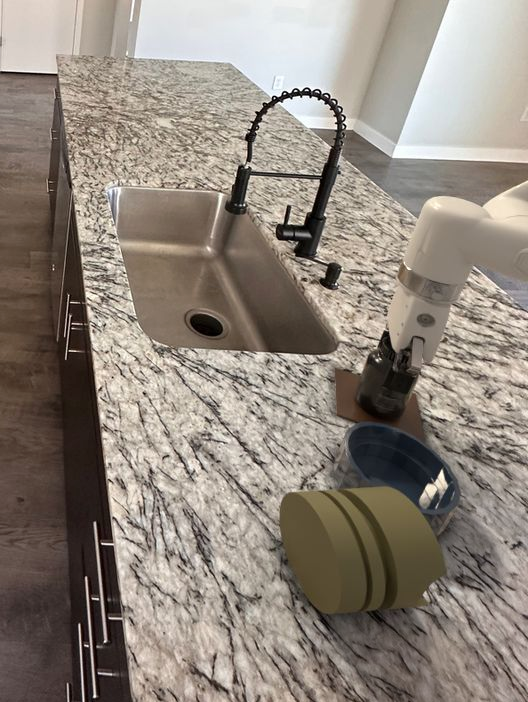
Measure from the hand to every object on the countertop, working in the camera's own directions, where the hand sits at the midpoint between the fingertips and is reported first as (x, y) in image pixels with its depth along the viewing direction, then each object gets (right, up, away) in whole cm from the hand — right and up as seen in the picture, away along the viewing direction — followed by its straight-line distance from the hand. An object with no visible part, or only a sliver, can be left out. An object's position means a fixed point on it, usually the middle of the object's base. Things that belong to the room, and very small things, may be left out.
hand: (391, 370), depth 84 cm
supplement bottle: (0, -7, +3) cm, 8 cm away
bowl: (-8, -13, -10) cm, 18 cm away
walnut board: (0, -7, +3) cm, 8 cm away
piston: (-20, -17, -20) cm, 33 cm away
